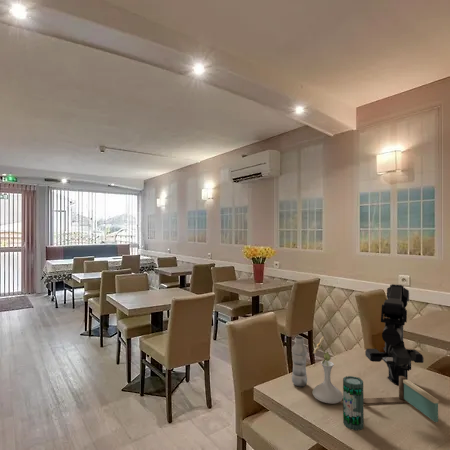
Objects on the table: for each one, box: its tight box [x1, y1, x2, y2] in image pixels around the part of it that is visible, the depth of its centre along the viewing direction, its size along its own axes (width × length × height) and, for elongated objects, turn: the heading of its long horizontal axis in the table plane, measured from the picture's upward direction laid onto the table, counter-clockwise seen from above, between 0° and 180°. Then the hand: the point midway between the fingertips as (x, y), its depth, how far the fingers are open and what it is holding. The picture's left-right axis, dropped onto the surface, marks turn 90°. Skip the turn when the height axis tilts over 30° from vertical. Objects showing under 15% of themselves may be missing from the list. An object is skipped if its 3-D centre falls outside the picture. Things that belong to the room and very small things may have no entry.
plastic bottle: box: [291, 335, 308, 388], centre depth 135 cm, size 6×7×20 cm
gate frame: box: [356, 376, 409, 406], centre depth 122 cm, size 19×3×9 cm, turn 94°
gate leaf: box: [403, 379, 440, 423], centre depth 114 cm, size 15×2×7 cm, turn 9°
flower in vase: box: [311, 335, 343, 404], centre depth 124 cm, size 13×11×25 cm
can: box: [342, 375, 365, 431], centre depth 108 cm, size 6×6×15 cm
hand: (393, 378), depth 118 cm, fingers closed
